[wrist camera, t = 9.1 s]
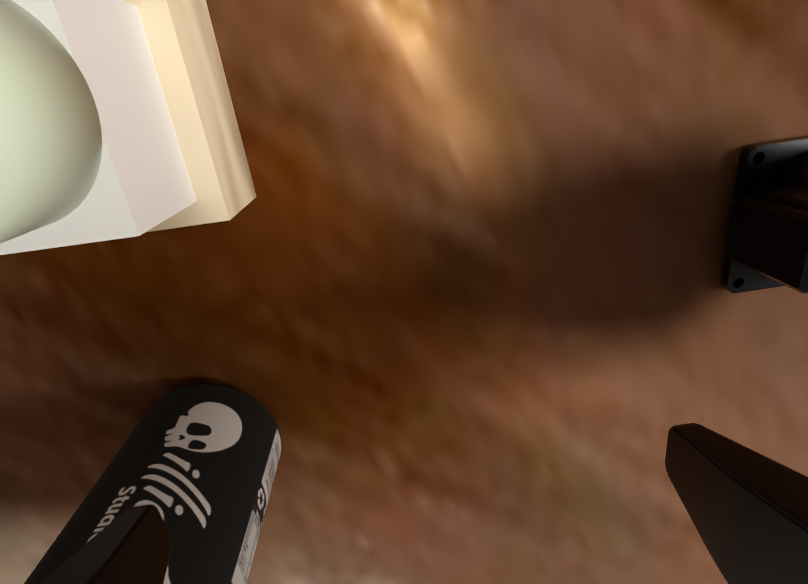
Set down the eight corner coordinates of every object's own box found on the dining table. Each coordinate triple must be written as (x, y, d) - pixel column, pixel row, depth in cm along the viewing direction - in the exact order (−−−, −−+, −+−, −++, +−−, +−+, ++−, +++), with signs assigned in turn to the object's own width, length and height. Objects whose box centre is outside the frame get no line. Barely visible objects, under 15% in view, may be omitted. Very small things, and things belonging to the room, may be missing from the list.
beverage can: (122, 399, 22) (-126, 699, 11) (248, 357, 22) (117, 629, 11) (191, 494, 25) (44, 814, 14) (305, 458, 24) (247, 761, 13)
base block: (206, -2, 16) (157, -30, 13) (257, 195, 19) (229, 220, 15) (9, 26, 16) (-98, 6, 13) (88, 219, 19) (20, 249, 15)
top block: (136, 6, 13) (41, -29, 9) (196, 201, 15) (139, 235, 11) (-60, 32, 13) (-234, 8, 9) (28, 224, 15) (-83, 266, 11)
